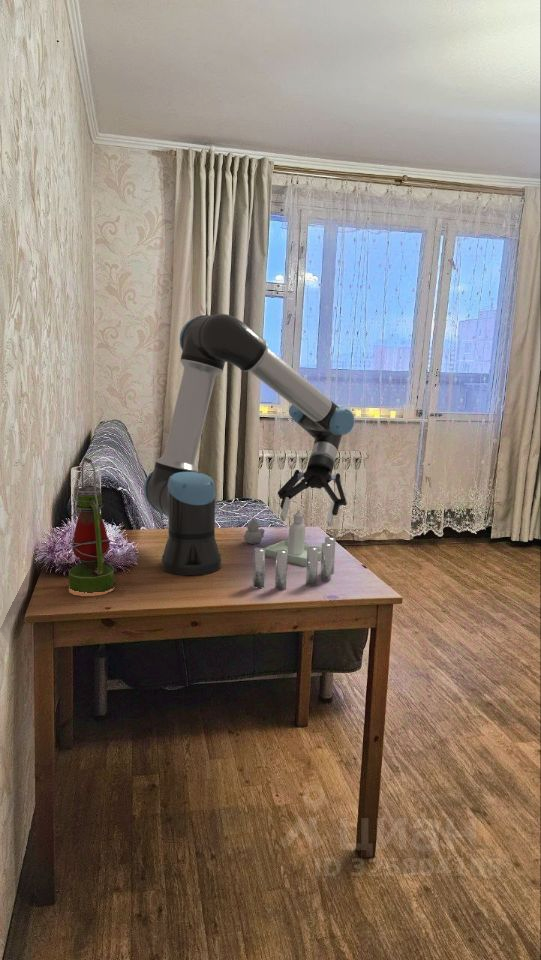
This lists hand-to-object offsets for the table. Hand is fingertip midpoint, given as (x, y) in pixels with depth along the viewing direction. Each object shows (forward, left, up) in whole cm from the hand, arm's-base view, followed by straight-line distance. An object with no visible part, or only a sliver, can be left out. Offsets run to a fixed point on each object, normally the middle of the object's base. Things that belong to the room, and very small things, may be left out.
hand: (305, 521), depth 178 cm
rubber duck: (-14, -4, -8) cm, 17 cm away
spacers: (+13, -23, -8) cm, 27 cm away
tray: (+2, -7, -8) cm, 11 cm away
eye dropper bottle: (+2, -7, -7) cm, 11 cm away
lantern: (-21, -57, -8) cm, 62 cm away
